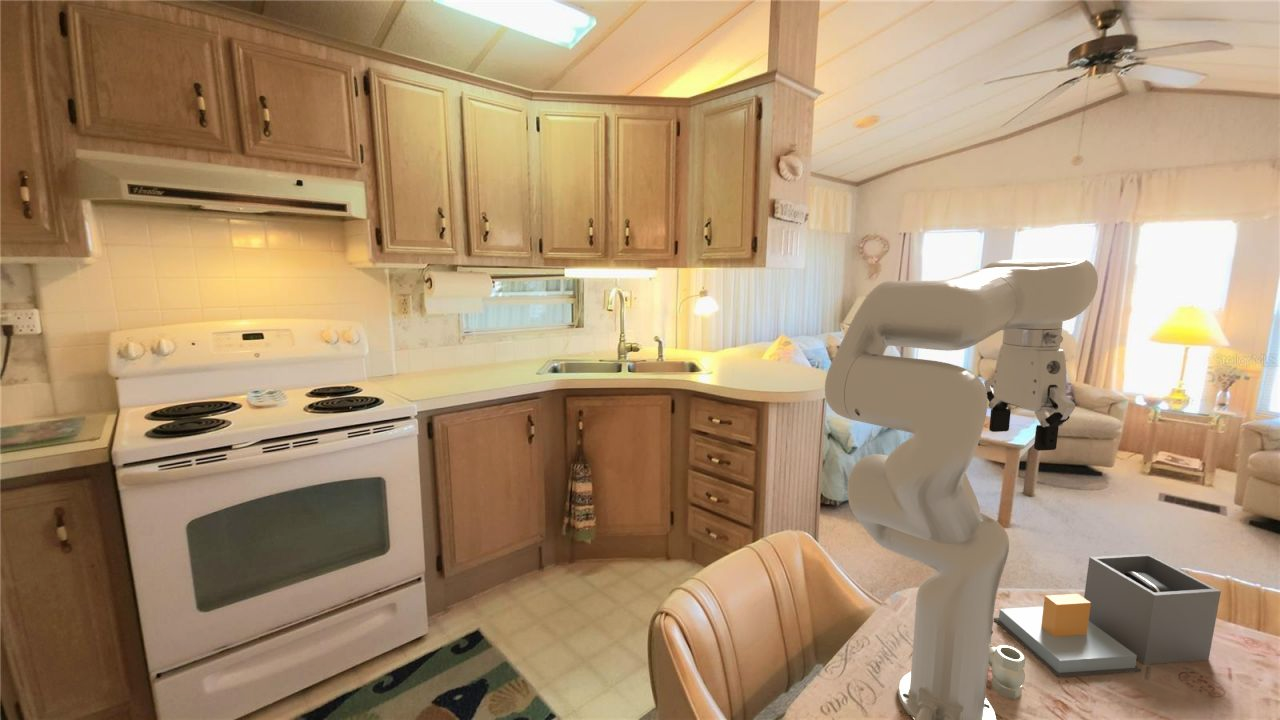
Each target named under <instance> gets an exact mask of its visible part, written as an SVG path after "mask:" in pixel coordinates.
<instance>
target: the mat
mask: <svg viewBox="0 0 1280 720" xmlns="http://www.w3.org/2000/svg"><path fill="white" fill-rule="evenodd" d="M994 621H995V623H997V625H998V626H1000V627H1001V628H1002V629H1004V630H1005V632H1006V633H1008V634H1009V636H1011V637H1012V638H1013V639H1015V640H1016V641H1017V643H1019V644H1020V645H1021V646H1022V647H1023V648H1025V649H1026V650H1027V651H1028V652H1029V653H1030V654H1031V655H1032V654H1033V657H1034V658H1036V659H1037V660H1038V661H1039V660H1040V661H1041V662H1042V663H1041V662H1040V661H1039V662H1040V663H1041V664H1042V665H1044V666H1045V667H1046V668H1047V669H1048V670H1049V671H1050V672H1051V673H1052V674H1053V675H1055V676H1056V677H1058V678H1069V677H1083V676H1084V677H1085V676H1096V675H1097V676H1099V675H1110V674H1125V673H1127V674H1128V673H1136V672H1137V673H1139V672H1141V670H1142V669H1141V668H1140V667H1138V666H1137V665H1135V668H1123V669H1108V670H1093V671H1079V672H1064V673H1058V672H1057V671H1056V670H1055V669H1054V668H1053V667H1051V666H1050V665H1049V664H1048V663H1047V662H1046V661H1045V660H1044V659H1042V658H1041V657H1040V656H1039V655H1038V654H1037V653H1036V652H1035V651H1033V650H1032V649H1031V648H1030V647H1029V646H1028V645H1027V644H1026V643H1024V642H1023V641H1022V640H1021V639H1020V638H1019V637H1018V636H1016V635H1015V634H1014V633H1013V632H1012V631H1011V630H1010V629H1009V628H1007V627H1006V626H1005V625H1004V624H1003V623H1002V622H1001V621H1000V620H999V617H993V622H994Z"/></svg>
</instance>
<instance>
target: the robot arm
mask: <svg viewBox="0 0 1280 720" xmlns="http://www.w3.org/2000/svg"><path fill="white" fill-rule="evenodd" d="M1098 285H1099V277H1098V273H1097V270H1096V267H1095V266H1094V265H1093V263H1091V262H1090V261H1089V260H1087V259H1086V258H1073V257H1072V258H1038V259H1037V258H1033V259H1032V258H1031V259H1006V260H996V261H993V262H990V263H988V264H987V265H985V266H983V268H981V269H975V270H972V271H970V272H967V273H965V274H962V275H959V276H956V277H953V278H949V279H944V280H888V281H884V282H881V283H879V284H878V285H876V286H875V287H874V288H872V290H871V291H870V292H869V293H868V294H867V296H866V297H865V298H864V300H863V301H862V303H861V304H860V306H859V308H858V309H857V311H856V313H855V314H854V316H853V318H852V320H851V322H850V324H849V325H848V328H847V331H846V333H845V335H844V336H843V339H842V340H841V343H840V344H839V347H838V348H837V351H836V353H835V354H834V357H833V359H832V361H831V363H830V366H829V368H828V370H827V373H826V377H825V382H824V383H825V384H824V397H825V400H826V403H827V405H828V406H829V408H830V409H831V410H832V412H834V413H835V414H836V415H838V416H840V417H843V418H845V419H848V420H850V421H855V422H859V423H865V424H868V425H869V424H870V425H874V426H879V427H883V428H888V429H891V430H892V429H893V430H898V431H901V432H904V433H905V432H906V433H910V434H911V433H912V434H914V436H912V437H909V438H908V439H907V440H905V441H903V442H902V443H901V444H899V445H898V446H896V448H895V449H893V450H892V452H891V453H890V454H889V455H887V454H880V453H873V454H869V455H865V456H864V457H862V458H861V459H859V460H858V461H857V462H856V463H855V464H854V466H853V468H852V469H851V471H850V474H849V477H848V479H847V480H848V481H847V499H848V504H849V507H850V510H851V511H852V514H853V516H854V517H855V518H856V519H857V521H859V523H860V524H861V525H862V527H863V528H864V529H865V531H866V532H867V534H868V535H869V536H870V537H871V538H872V539H873V541H874V542H875V543H877V544H878V545H879V547H880V546H881V547H882V548H884V549H886V550H889V551H890V552H893V553H895V554H898V555H900V556H903V557H905V558H907V559H910V560H912V561H914V562H915V561H916V562H918V563H920V564H923V566H924V565H925V566H927V567H929V568H931V569H933V570H935V571H936V572H935V573H933V574H932V575H930V576H929V577H927V578H926V579H925V580H924V581H923V582H922V583H921V584H920V585H919V587H918V590H917V592H916V598H915V599H916V600H915V611H914V612H915V615H914V626H913V627H914V629H913V638H912V639H913V642H912V654H911V655H912V657H911V667H910V668H911V670H910V671H909V672H908V673H906V674H903V676H902V677H901V678H900V680H899V682H898V691H897V692H898V699H899V702H900V704H901V705H902V708H903V709H904V711H905V712H906V713H907V715H908V716H909V715H911V716H912V717H914V718H915V720H997V716H996V712H995V709H994V708H993V706H992V704H991V703H990V702H989V701H988V698H986V694H987V693H986V692H987V685H988V684H987V683H988V675H989V667H990V665H989V656H990V646H991V644H992V635H993V633H992V631H993V626H994V625H993V624H994V617H995V616H994V614H995V606H996V599H997V596H998V595H997V594H998V590H999V586H1000V582H1001V578H1002V575H1003V572H1004V569H1005V566H1006V563H1007V561H1008V560H1007V559H1008V555H1009V552H1010V538H1009V535H1008V533H1007V531H1006V529H1005V528H1004V527H1003V525H1001V524H1000V522H998V521H997V520H995V519H994V518H992V517H990V516H989V515H986V514H984V513H982V512H981V509H980V506H979V503H978V502H979V501H978V499H977V496H976V494H975V492H974V490H973V487H972V484H971V483H970V480H969V478H968V476H967V474H966V472H967V470H968V468H969V466H970V464H971V462H972V460H973V458H974V457H975V453H976V451H977V448H978V446H979V444H980V440H981V438H982V437H981V436H982V432H983V429H984V426H985V421H986V417H987V412H988V408H989V409H990V417H989V429H988V430H989V432H992V433H998V432H999V433H1001V432H1009V430H1010V423H1011V413H1012V412H1011V410H1012V409H1010V408H1009V407H1010V406H1014V407H1016V408H1020V409H1024V410H1027V411H1031V412H1034V414H1035V416H1036V419H1037V420H1038V423H1040V424H1039V425H1038V424H1037V425H1036V427H1035V437H1034V444H1033V445H1034V446H1033V447H1034V450H1036V451H1042V452H1043V451H1055V450H1056V449H1057V444H1058V435H1059V427H1062V426H1064V423H1065V422H1067V421H1068V420H1069V419H1070V416H1071V415H1072V414H1073V412H1074V411H1075V409H1076V403H1075V402H1074V401H1073V400H1072V399H1071V398H1069V397H1068V396H1067V395H1066V394H1067V364H1066V363H1067V362H1066V356H1065V352H1064V349H1061V343H1062V342H1063V341H1064V336H1062V334H1063V333H1062V331H1063V323H1064V322H1065V321H1068V320H1073V319H1074V318H1076V317H1078V316H1079V315H1080V314H1082V313H1083V312H1085V310H1087V309H1088V307H1089V306H1090V305H1091V303H1092V302H1093V300H1094V298H1095V296H1096V293H1097V291H1098ZM1000 331H1003V334H1002V342H1001V345H1000V349H999V351H998V355H997V359H996V363H995V364H996V365H995V369H994V370H995V371H994V377H991V378H988V379H986V380H984V382H983V381H982V380H981V379H980V378H979V377H978V375H976V374H975V373H974V372H972V371H970V370H968V369H967V368H965V367H962V366H959V365H956V364H952V363H948V362H942V361H937V360H932V359H931V360H930V359H922V358H915V357H914V358H912V357H911V358H910V357H903V356H893V355H885V352H886V349H887V348H888V347H889V346H891V347H903V348H914V349H924V350H933V351H934V350H935V351H946V352H947V351H951V352H952V351H960V350H965V349H968V348H971V347H973V346H975V345H977V344H979V343H981V342H982V341H984V340H986V339H988V338H989V337H991V336H993V335H996V334H997V333H998V332H1000ZM1046 413H1048V415H1049V416H1047V414H1046ZM911 716H910V717H911ZM912 717H911V718H912Z"/></svg>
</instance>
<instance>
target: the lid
mask: <svg viewBox="0 0 1280 720" xmlns="http://www.w3.org/2000/svg"><path fill="white" fill-rule="evenodd" d="M1043 599H1044V601H1043V605H1042V606H1041V605H1040V606H1028V607H1027V606H1026V607H1012V608H1011V607H1010V608H999V613H998V618H999V620H1000V621H1001V622H1002V623H1003V624H1004V625H1005V626H1006V627H1007V628H1009V629H1010V630H1011V631H1012V632H1013V633H1014V634H1015V635H1016V636H1018V637H1019V638H1020V639H1021V640H1022V641H1023V642H1024V643H1026V644H1027V645H1028V646H1029V647H1030V648H1031V649H1032V650H1033V651H1035V652H1036V653H1037V654H1038V655H1039V656H1040V657H1041V658H1042V659H1044V660H1045V661H1046V662H1047V663H1048V664H1049V665H1050V666H1051V667H1053V668H1054V669H1055V670H1056V671H1057V672H1058V673H1064V672H1079V671H1093V670H1108V669H1123V668H1135V665H1136V664H1137V659H1136V658H1137V655H1135V654H1134V653H1133V652H1131V651H1130V650H1129V649H1127V648H1126V647H1124V646H1123V645H1122V644H1120V643H1119V642H1117V641H1116V640H1115V639H1113V638H1112V637H1111V636H1109V635H1108V634H1106V633H1105V632H1104V631H1102V630H1101V629H1100V628H1098V627H1097V626H1095V625H1094V624H1093V623H1091V622H1090V621H1089V614H1090V607H1091V602H1089V601H1088V600H1086V599H1085V598H1084V597H1083V596H1082V595H1080V594H1079V593H1069V594H1068V593H1067V594H1066V593H1065V594H1053V595H1051V594H1050V595H1044V598H1043ZM1136 666H1137V665H1136Z"/></svg>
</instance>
